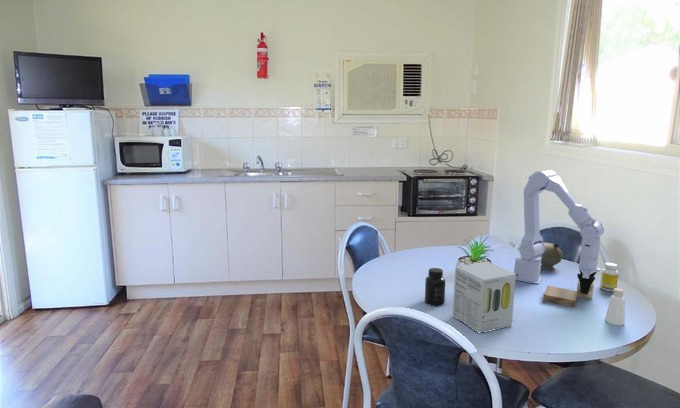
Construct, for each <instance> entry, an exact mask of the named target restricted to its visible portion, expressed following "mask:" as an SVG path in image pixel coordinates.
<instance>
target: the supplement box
mask: <svg viewBox="0 0 680 408" xmlns="http://www.w3.org/2000/svg"><path fill="white" fill-rule="evenodd" d="M515 279H516V274H515V273H514V271H510V270H508V269H506V268H503V267H501V266H499V265H496V264H494V263H492V262H489V261H483V262H477V263H470V264H464V265H458V266H455V273H454V284H453V285H454V287H453V304H452V317H453V316H454V317H456V318H457V319H459V320H460V321H462V322H464V323H465V324H467V325H468V326H470V327H471V328H473V329H474V330H476V331H478V332H484V331H489V330H493V329H498V330H500V329H499V328H502V329H504V327H506V328H510V327H512V324H513V313H514V300H515V291H516V290H515V289H516V288H515V287H516V280H515ZM454 317H453V318H454ZM456 318H455V319H456ZM457 319H456V320H457ZM459 320H458V321H459ZM460 321H459V322H460ZM462 322H461V323H462ZM465 324H464V325H465ZM468 326H467V327H468ZM509 326H510V327H509ZM471 328H470V329H471ZM474 330H473V331H474ZM493 331H494V330H493ZM489 332H490V331H489Z"/></svg>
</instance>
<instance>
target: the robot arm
mask: <svg viewBox="0 0 680 408" xmlns="http://www.w3.org/2000/svg"><path fill="white" fill-rule="evenodd" d="M543 191H548V192H551V193H554V195H556V196H557V197H558V198H559V200H560V201H561V202H562V203H563V204H564V206H565V207H567V209H568V213H567V214H568V216H569V217H570V218H571V219H572V221H573V222H574V223H575V225H576V226H577V228H578V229H580V231H579V234H580V237H582V238H581V245H580V246H581V248H580V255H579V263H578V266H577V268H578V271H579V272H580V273H577V274H576V275H577V279H578V281H579V282H580V289H581V293H582V294H588V292H589V289H590V286H591V284H592V282H595V280H596V274H597V272H600V273H601V271H602V269H601V268H600V267H598V264H599V263H598V261H599V255H600V247H601V236H603V234H604V233H605V228H604V226H603V224H602V222H599V221H597V219H596V218H593V215H591V214H590V212H589V208H588V207H587V206H584V205H583V204H579V203H577V202H576V200H575V199H574V197H573V196H572V194H571V193H570V192H569V190H568V189H567V187H566V185H565V184H564V183H563V180H562V178H561V177H560V176H559V175H558V174H557V172H556V171H554V170H553V169H546V170H541V171H535V172H533V173H532V174H530V176H528V181H527V183H526V185H525V186H524V189H523V210H524V211H523V212H524V214H523V215H524V216H523V217H524V235H523V237H522V239H521V244H520V247H519V250H518V251H519V255H520V256H519V255H517V256H516V258H515V262H514V268H513V269H514V270H513V273H515V274H516V279H515V281H520V282H526V283H532V284H535V285H536V284H537V285H539V284H540V282H541V281H542V279H543V278H542V276H541V269H542V267H541V255H542V254H543V253H544V252H545V245H544V243H543V242H544V240H543V236H542V235H541V232H540V229H541V228H540V197H539V195H540V194H541V193H542V192H543Z"/></svg>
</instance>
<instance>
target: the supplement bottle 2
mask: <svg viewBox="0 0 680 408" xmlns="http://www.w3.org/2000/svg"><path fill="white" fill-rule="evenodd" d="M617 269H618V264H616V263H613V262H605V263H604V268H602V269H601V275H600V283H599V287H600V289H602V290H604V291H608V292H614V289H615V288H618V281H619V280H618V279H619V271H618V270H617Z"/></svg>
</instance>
